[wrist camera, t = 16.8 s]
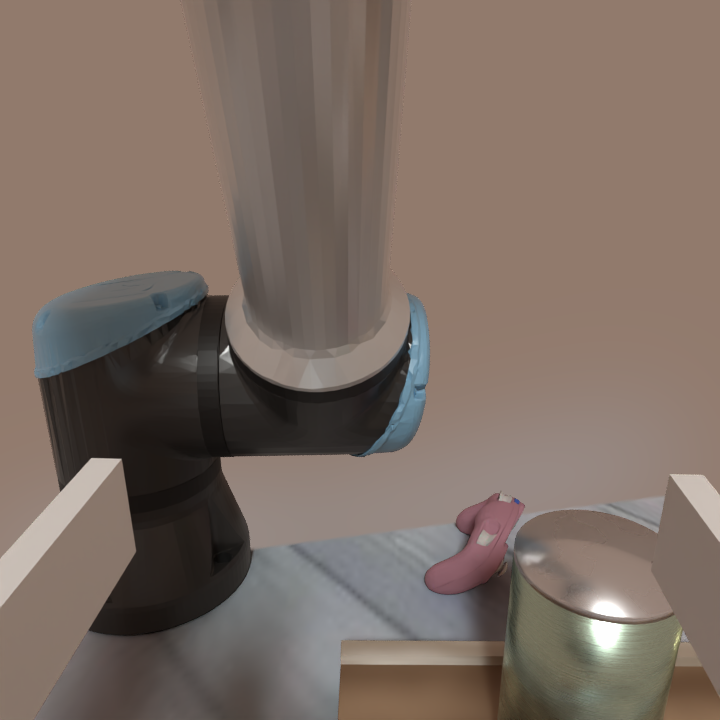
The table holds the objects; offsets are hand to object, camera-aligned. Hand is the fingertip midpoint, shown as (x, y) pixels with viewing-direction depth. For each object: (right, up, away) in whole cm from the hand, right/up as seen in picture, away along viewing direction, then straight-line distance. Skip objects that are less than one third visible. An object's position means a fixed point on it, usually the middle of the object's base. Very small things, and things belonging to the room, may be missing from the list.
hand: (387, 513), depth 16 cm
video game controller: (+9, -13, +36) cm, 40 cm away
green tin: (+10, -17, +18) cm, 26 cm away
